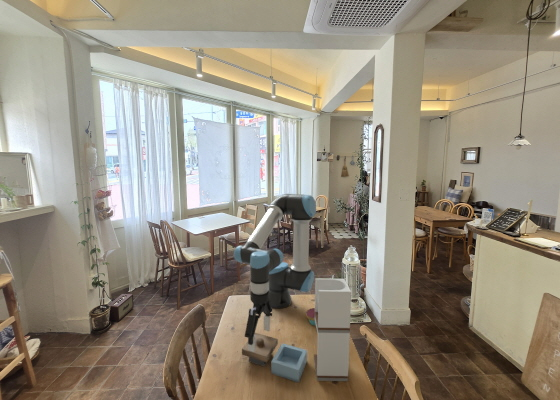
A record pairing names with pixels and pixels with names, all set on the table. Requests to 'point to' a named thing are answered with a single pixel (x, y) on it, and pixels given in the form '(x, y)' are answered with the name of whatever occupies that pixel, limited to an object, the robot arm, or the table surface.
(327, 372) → the white stacked pedestal
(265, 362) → the block
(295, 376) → the dish
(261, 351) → the lid
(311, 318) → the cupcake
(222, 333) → the table surface
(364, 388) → the table surface
